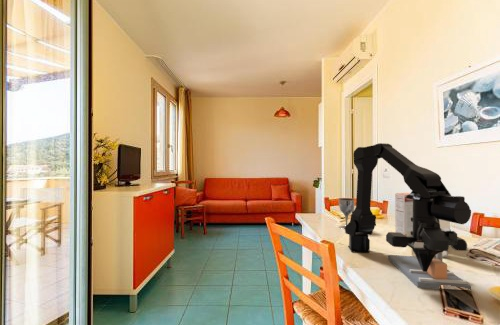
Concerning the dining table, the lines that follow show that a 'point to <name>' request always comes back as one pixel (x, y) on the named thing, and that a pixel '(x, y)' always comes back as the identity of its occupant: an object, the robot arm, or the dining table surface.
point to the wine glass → (346, 207)
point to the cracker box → (403, 214)
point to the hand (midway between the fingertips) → (424, 271)
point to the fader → (438, 269)
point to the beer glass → (444, 227)
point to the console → (424, 273)
